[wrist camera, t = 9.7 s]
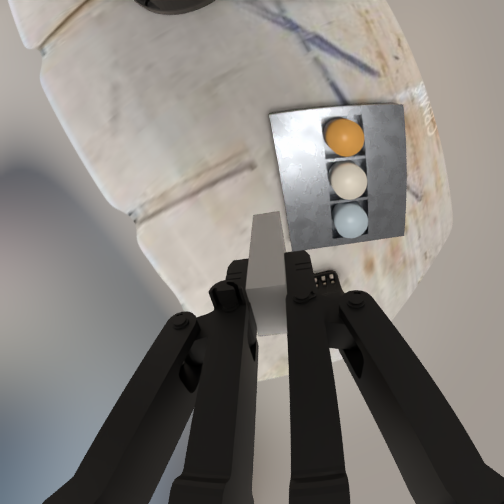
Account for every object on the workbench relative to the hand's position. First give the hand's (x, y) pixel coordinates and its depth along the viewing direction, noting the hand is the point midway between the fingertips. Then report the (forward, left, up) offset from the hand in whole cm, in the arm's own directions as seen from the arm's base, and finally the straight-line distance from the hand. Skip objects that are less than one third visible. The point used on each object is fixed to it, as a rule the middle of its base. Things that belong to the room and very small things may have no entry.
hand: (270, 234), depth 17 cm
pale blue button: (+11, +10, -22) cm, 27 cm away
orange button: (-1, +10, -22) cm, 24 cm away
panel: (+5, +10, -24) cm, 27 cm away
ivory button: (+5, +10, -22) cm, 25 cm away
